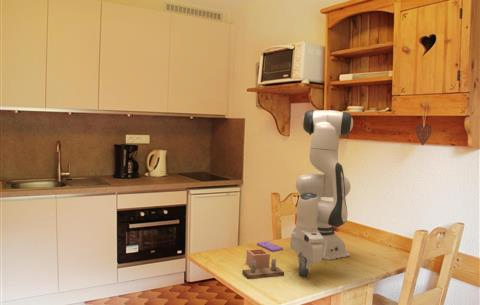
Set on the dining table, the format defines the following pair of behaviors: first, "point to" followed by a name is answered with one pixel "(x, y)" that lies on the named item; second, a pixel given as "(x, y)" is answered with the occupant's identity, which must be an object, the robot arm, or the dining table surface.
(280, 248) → the sponges
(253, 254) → the socket
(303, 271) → the steel pin
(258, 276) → the peg board
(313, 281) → the dining table surface
